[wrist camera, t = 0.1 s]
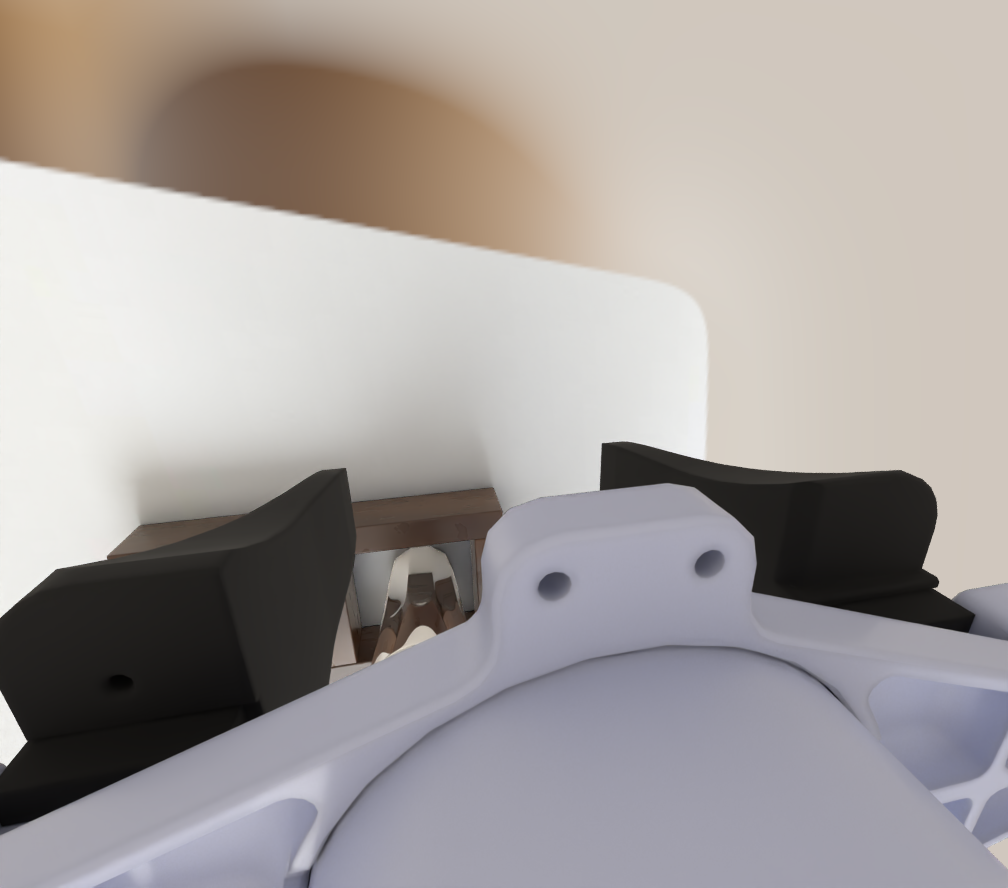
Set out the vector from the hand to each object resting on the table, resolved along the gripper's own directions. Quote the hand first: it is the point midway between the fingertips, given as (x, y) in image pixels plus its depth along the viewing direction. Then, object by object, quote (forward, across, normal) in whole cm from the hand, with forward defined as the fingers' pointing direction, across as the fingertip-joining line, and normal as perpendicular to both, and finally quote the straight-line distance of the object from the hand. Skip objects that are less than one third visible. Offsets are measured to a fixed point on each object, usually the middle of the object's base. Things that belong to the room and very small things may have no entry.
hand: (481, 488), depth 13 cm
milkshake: (+10, +3, +9) cm, 14 cm away
